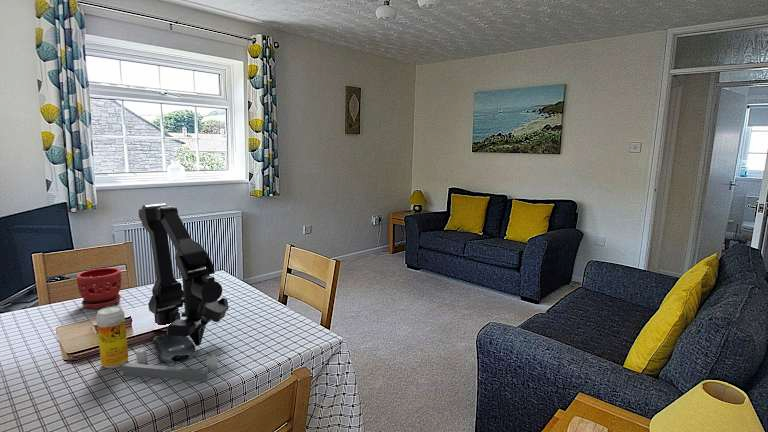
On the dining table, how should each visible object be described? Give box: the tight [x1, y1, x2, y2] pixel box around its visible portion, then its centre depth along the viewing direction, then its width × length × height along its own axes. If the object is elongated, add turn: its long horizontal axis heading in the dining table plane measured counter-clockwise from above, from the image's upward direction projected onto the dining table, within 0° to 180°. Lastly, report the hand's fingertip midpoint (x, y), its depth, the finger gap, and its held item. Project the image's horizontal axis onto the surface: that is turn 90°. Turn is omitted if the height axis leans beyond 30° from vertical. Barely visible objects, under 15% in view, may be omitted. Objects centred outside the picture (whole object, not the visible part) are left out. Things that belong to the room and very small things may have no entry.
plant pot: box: [76, 267, 122, 309], centre depth 148 cm, size 13×13×12 cm
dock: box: [121, 348, 219, 383], centre depth 106 cm, size 22×7×4 cm, turn 83°
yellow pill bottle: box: [96, 305, 129, 369], centre depth 108 cm, size 6×6×15 cm
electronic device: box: [152, 332, 196, 365], centre depth 116 cm, size 9×6×15 cm
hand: (198, 344), depth 118 cm, fingers closed
